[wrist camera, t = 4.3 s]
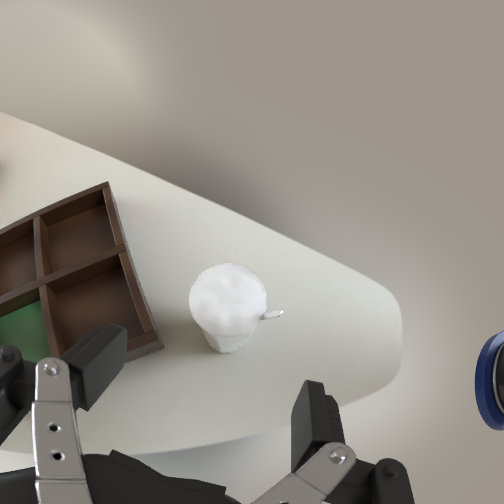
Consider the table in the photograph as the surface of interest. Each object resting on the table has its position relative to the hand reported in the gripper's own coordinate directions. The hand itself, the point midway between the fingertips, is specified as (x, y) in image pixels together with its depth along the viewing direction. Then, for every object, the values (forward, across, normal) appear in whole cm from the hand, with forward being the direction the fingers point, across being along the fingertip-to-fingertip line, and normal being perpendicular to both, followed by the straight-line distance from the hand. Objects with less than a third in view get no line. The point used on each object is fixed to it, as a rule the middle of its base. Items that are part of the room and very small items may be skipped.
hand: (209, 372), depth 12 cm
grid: (+10, +17, +6) cm, 21 cm away
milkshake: (+12, 0, +5) cm, 12 cm away
